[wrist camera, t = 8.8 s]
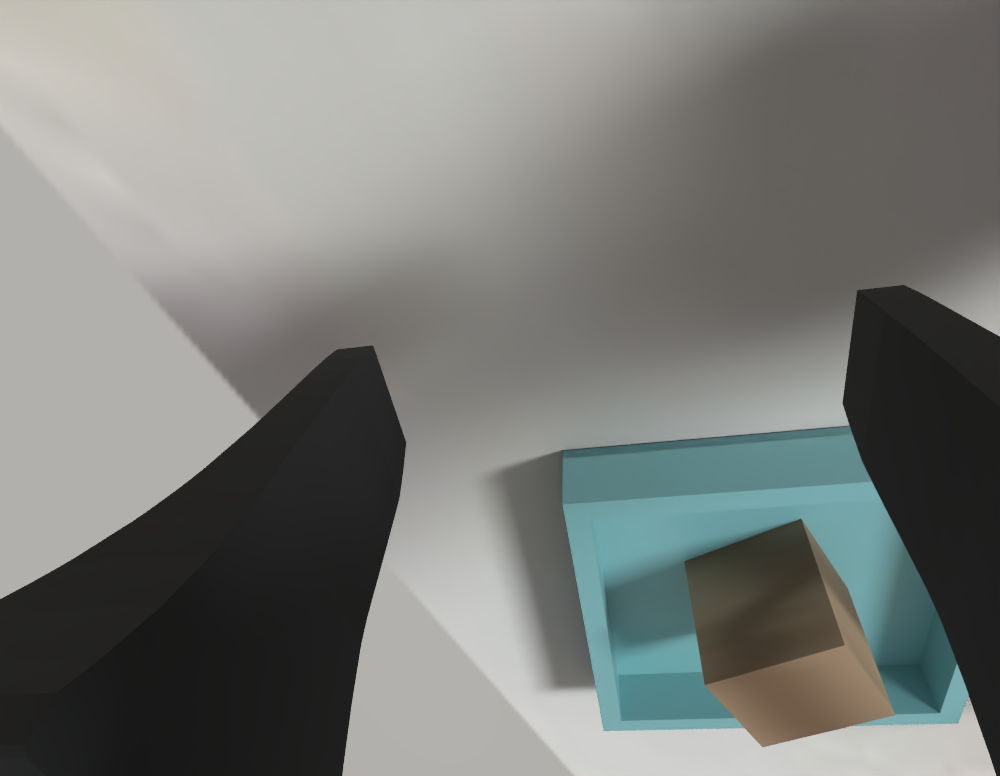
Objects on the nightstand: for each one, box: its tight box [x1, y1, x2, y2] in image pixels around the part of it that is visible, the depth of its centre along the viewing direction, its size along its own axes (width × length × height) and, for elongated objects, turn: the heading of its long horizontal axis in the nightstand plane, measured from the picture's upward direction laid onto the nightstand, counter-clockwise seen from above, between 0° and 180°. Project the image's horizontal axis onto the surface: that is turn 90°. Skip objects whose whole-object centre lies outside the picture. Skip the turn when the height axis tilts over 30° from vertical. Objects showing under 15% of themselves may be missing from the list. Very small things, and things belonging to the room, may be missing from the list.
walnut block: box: [684, 519, 895, 747], centre depth 25 cm, size 4×4×5 cm
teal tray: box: [562, 426, 969, 731], centre depth 27 cm, size 14×14×2 cm
